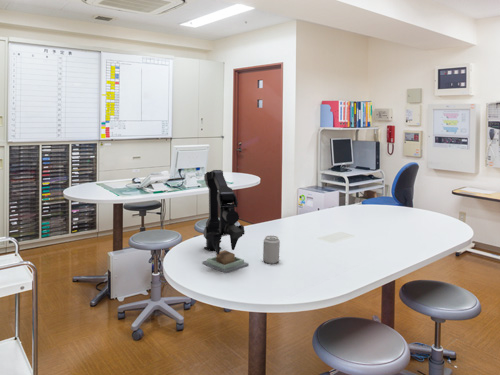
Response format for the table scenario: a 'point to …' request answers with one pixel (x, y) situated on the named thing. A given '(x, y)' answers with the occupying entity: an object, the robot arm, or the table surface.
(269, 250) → the can
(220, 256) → the brown rectangular block
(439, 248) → the table surface
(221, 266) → the grey tray
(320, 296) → the table surface
